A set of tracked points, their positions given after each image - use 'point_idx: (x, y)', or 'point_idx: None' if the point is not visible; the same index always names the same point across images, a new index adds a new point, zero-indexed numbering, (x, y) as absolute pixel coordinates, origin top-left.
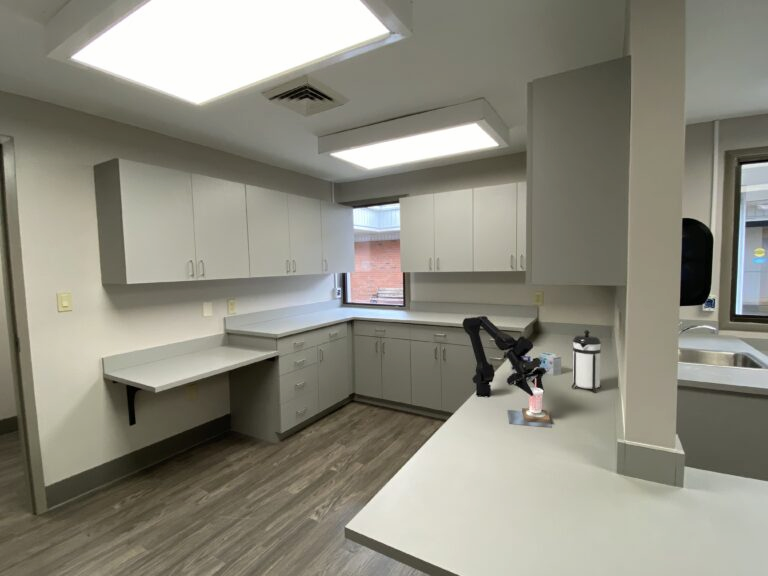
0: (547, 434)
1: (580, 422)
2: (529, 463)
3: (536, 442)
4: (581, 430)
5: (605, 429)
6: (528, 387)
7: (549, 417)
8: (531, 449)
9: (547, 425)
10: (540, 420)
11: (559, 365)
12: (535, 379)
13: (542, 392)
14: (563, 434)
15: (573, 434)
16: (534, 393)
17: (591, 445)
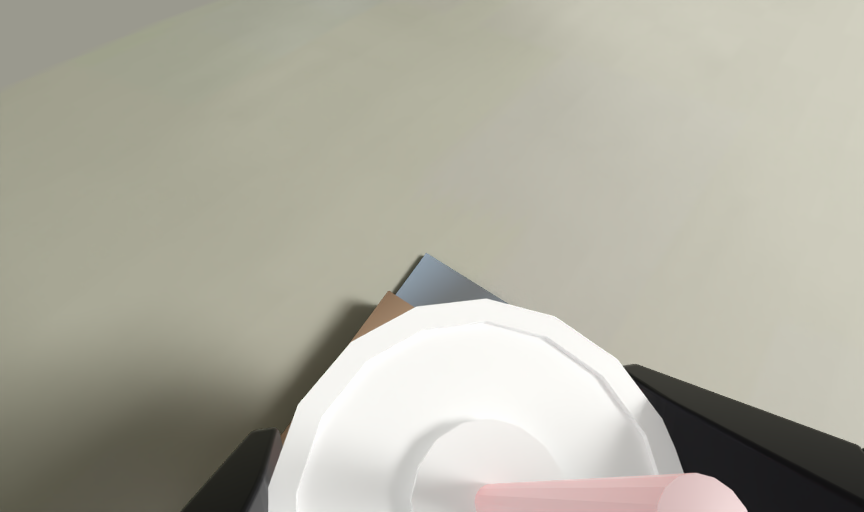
0: (531, 188)
1: (95, 243)
2: (796, 19)
3: (667, 138)
4: (241, 143)
5: (59, 92)
6: (840, 448)
7: (354, 337)
8: (734, 95)
9: (438, 287)
10: None
11: None
12: (677, 500)
13: (407, 314)
14: (420, 148)
15: (353, 124)
16: (598, 366)
17: (371, 9)
